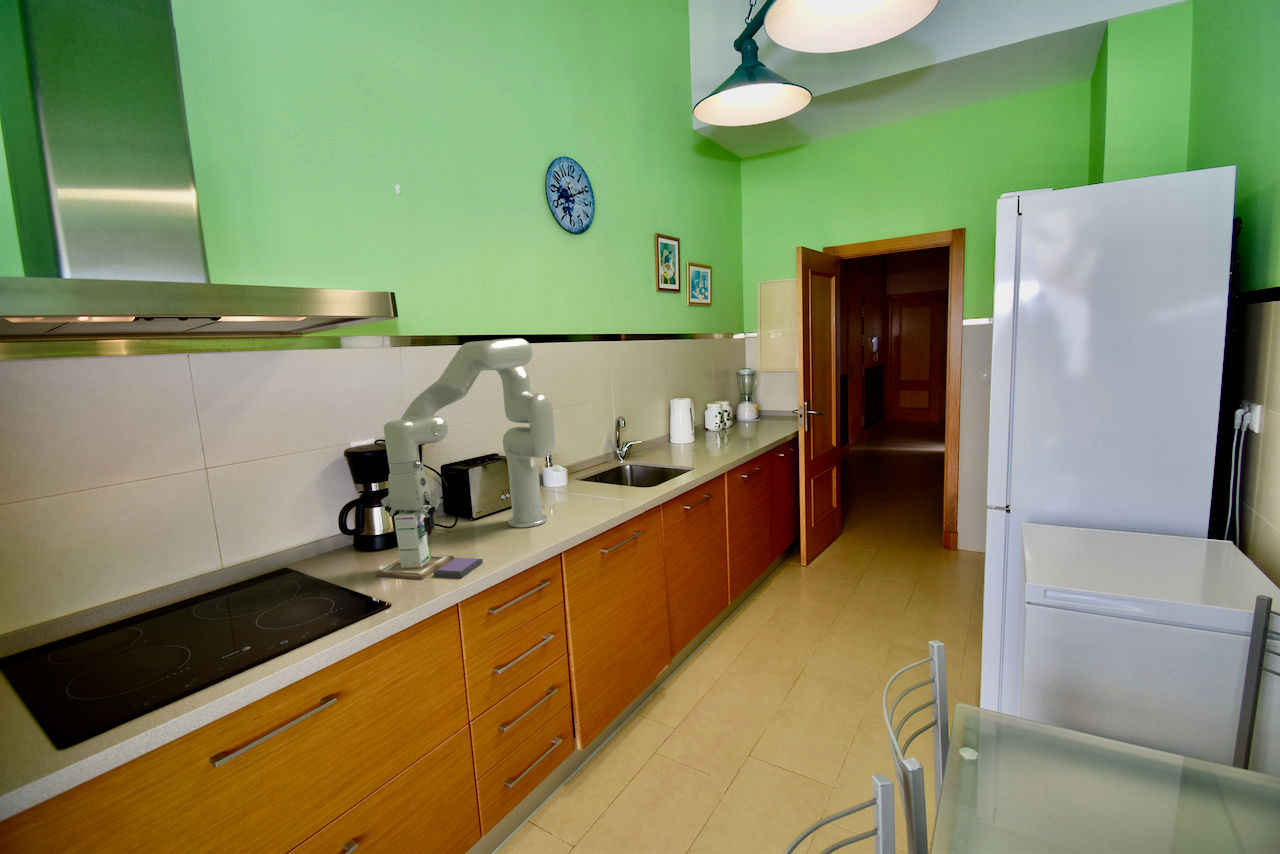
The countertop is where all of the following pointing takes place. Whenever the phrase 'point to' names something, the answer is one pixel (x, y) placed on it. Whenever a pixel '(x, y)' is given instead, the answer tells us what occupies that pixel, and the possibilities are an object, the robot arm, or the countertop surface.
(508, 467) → the robot arm
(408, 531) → the syrup box
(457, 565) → the ink pad
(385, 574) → the board
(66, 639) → the countertop surface
